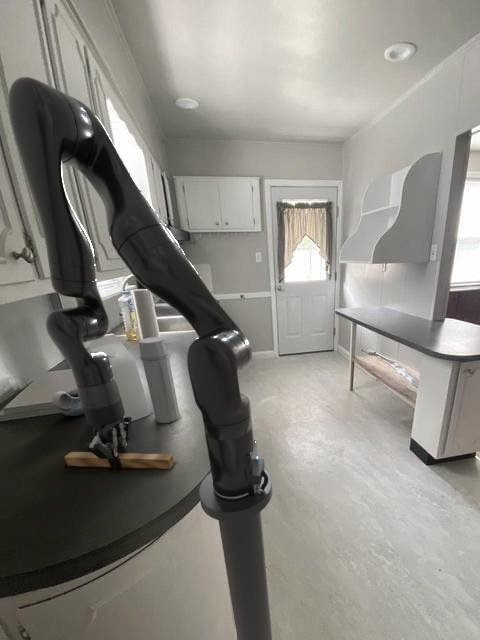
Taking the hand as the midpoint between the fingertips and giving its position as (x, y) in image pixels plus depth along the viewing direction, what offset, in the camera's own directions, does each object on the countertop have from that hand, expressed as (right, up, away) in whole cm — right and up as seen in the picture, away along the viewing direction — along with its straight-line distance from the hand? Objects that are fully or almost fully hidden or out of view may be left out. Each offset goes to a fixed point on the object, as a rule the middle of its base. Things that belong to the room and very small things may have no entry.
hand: (120, 464), depth 73 cm
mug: (-28, +9, +25) cm, 38 cm away
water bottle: (+4, +8, +20) cm, 22 cm away
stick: (0, 0, 0) cm, 0 cm away
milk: (-12, +9, +23) cm, 28 cm away
